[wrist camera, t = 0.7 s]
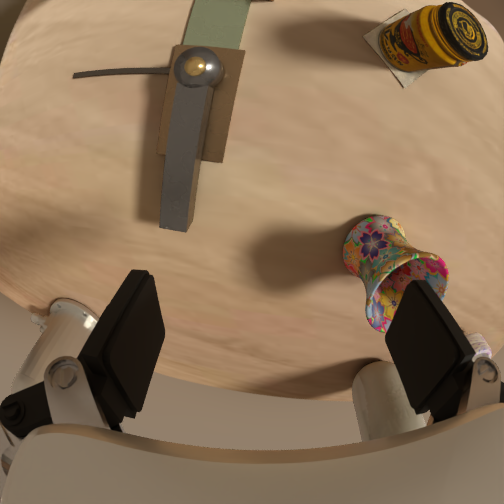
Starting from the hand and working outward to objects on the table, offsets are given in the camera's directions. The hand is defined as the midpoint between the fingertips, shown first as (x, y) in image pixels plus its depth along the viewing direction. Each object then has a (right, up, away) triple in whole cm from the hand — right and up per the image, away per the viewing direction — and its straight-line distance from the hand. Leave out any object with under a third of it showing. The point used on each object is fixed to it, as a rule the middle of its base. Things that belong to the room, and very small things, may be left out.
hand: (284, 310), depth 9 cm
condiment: (+16, +25, +10) cm, 31 cm away
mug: (+15, +2, +22) cm, 27 cm away
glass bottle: (+21, -19, +34) cm, 44 cm away
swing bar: (-7, +13, +15) cm, 21 cm away
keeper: (-3, +28, +8) cm, 29 cm away
